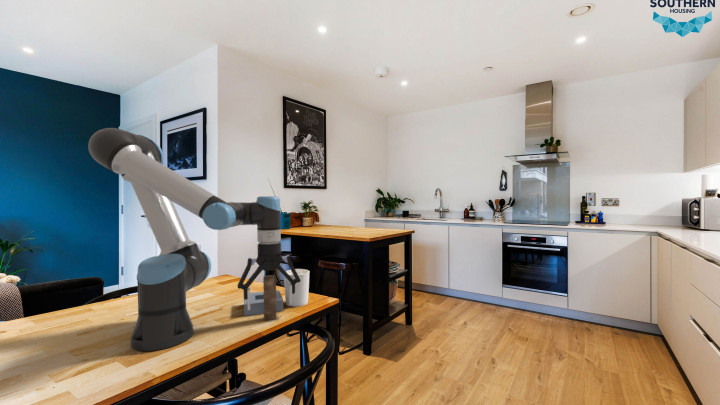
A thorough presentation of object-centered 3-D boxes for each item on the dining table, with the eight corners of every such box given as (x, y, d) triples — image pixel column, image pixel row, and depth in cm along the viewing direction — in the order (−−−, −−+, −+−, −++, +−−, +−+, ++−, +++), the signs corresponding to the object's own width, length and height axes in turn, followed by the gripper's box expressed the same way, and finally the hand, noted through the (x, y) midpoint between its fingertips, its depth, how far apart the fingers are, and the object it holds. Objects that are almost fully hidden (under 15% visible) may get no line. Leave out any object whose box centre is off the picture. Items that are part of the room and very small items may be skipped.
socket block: (244, 316, 106) (244, 304, 106) (243, 304, 118) (243, 293, 118) (283, 310, 111) (283, 299, 111) (278, 299, 123) (278, 289, 123)
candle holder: (307, 307, 114) (307, 275, 114) (280, 307, 114) (280, 275, 114) (312, 298, 124) (311, 268, 124) (287, 299, 124) (287, 269, 124)
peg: (264, 321, 101) (263, 278, 101) (263, 317, 105) (262, 276, 105) (277, 319, 103) (276, 277, 103) (275, 315, 107) (275, 274, 106)
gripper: (228, 246, 96) (229, 315, 96) (308, 241, 105) (309, 304, 105) (229, 243, 103) (230, 307, 103) (304, 239, 112) (304, 298, 112)
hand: (270, 306), depth 104 cm, fingers open, 13 cm apart
